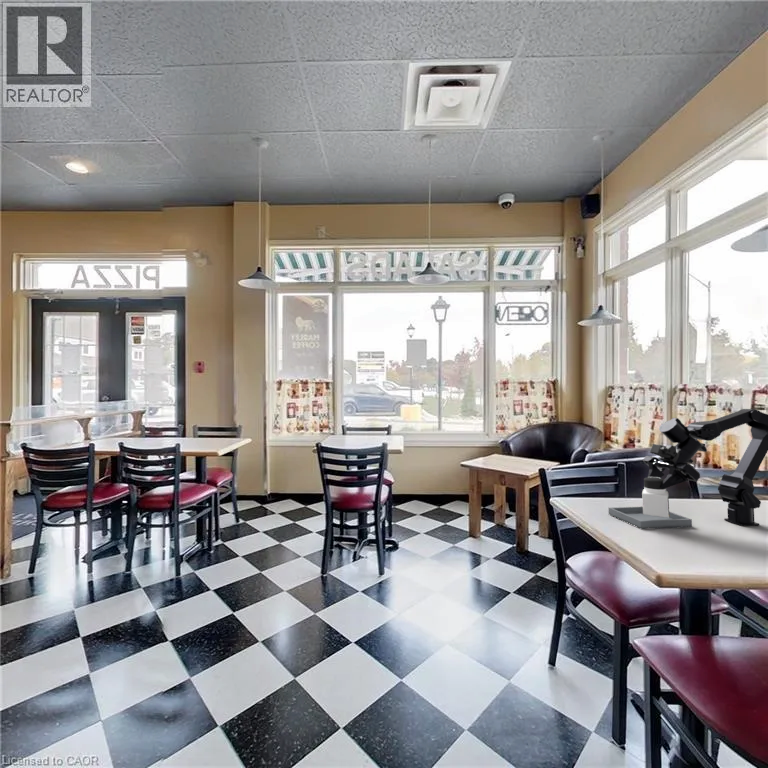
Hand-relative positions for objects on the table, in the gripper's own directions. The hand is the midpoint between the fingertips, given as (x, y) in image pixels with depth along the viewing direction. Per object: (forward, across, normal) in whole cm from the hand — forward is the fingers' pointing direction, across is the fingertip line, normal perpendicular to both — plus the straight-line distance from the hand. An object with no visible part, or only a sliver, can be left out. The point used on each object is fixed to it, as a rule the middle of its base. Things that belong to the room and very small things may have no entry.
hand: (653, 486), depth 130 cm
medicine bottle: (+6, 0, +7) cm, 9 cm away
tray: (+8, -5, +10) cm, 14 cm away
